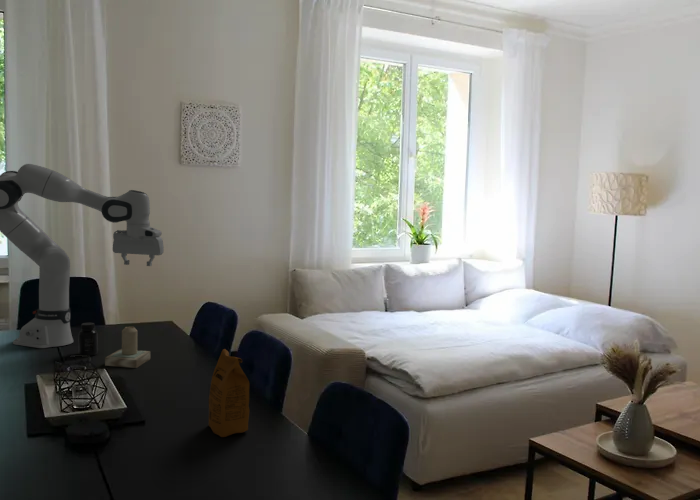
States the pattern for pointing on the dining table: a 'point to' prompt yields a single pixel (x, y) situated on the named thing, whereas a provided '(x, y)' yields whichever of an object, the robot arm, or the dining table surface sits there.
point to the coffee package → (228, 397)
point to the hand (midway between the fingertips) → (137, 265)
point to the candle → (129, 341)
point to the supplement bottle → (88, 339)
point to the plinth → (127, 359)
